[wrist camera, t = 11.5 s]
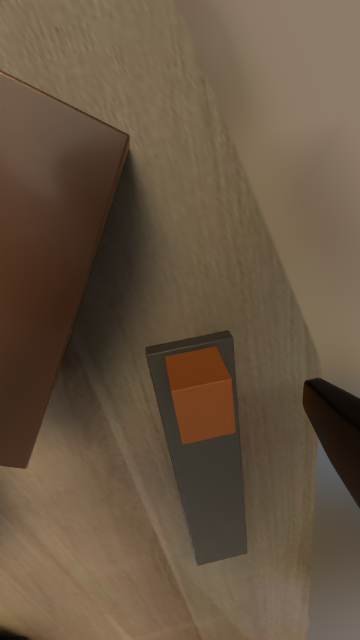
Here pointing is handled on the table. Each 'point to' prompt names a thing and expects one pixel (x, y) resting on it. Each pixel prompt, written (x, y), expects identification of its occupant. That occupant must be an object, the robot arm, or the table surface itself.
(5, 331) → the cabinet
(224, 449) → the board
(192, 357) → the orange cube block
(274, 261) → the table surface
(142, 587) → the table surface
